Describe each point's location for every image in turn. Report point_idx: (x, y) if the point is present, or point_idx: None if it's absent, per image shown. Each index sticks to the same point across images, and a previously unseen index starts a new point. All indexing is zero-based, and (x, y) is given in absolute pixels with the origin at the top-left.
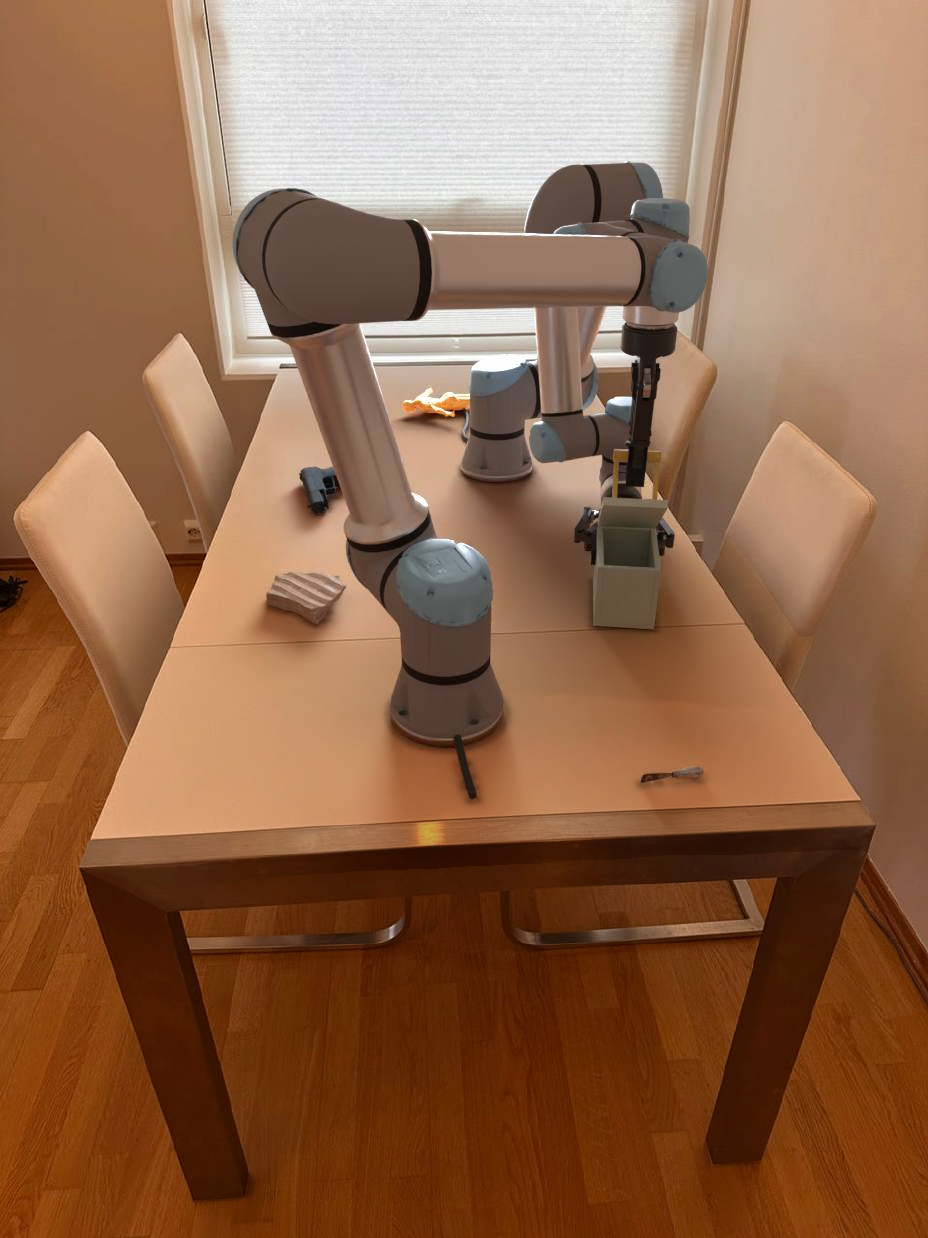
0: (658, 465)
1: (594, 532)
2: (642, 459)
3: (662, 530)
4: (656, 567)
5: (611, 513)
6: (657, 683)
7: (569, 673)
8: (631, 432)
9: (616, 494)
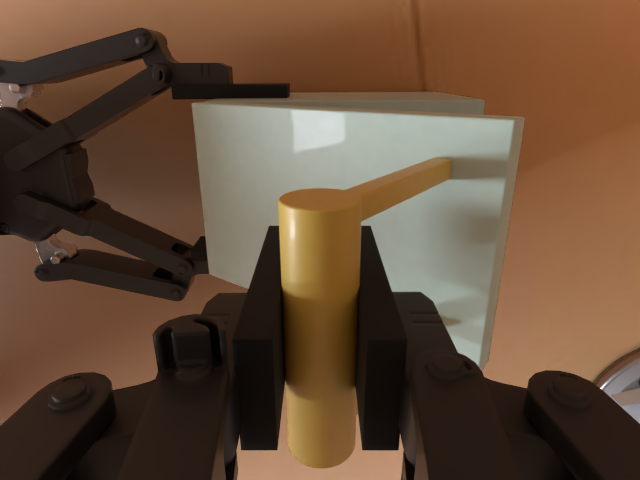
0: (366, 198)
1: (171, 250)
2: (442, 323)
3: (108, 64)
4: (466, 113)
5: None
6: (624, 94)
7: (577, 250)
8: (235, 469)
9: None
